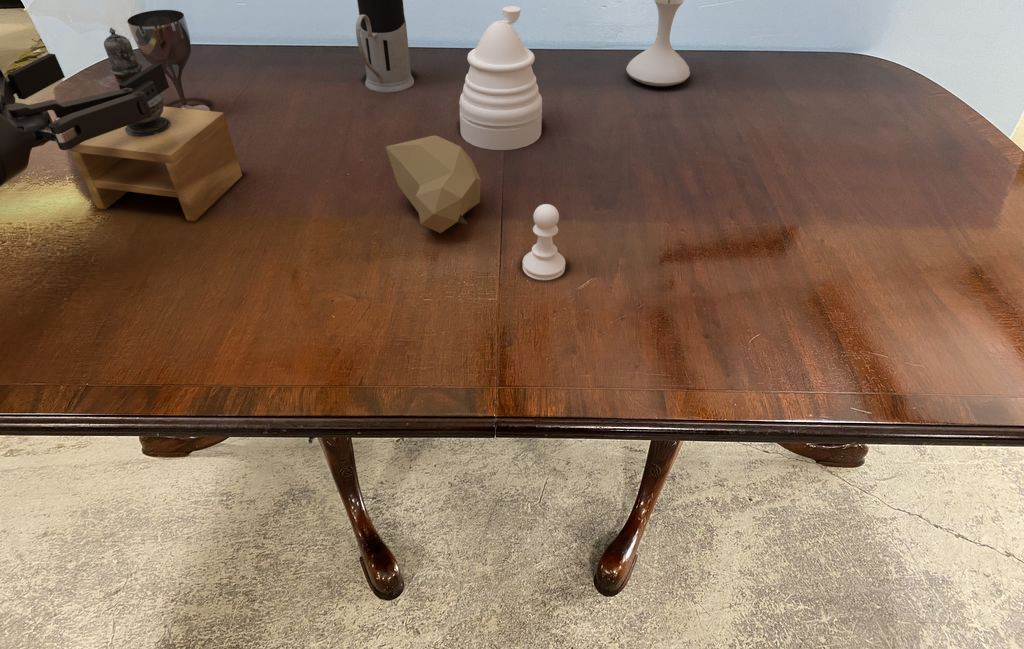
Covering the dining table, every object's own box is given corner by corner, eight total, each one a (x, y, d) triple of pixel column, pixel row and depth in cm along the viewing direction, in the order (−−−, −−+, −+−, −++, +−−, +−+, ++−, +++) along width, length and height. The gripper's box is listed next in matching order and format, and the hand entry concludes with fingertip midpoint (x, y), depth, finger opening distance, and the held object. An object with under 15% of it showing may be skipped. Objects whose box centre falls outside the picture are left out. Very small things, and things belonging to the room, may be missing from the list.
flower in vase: (636, 64, 128) (656, -87, 111) (695, 74, 124) (724, -80, 107) (613, 88, 119) (631, -72, 102) (676, 100, 115) (704, -64, 99)
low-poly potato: (418, 186, 94) (353, 179, 84) (456, 120, 89) (392, 105, 79) (480, 257, 88) (418, 258, 79) (525, 191, 83) (464, 184, 74)
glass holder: (421, 75, 123) (413, -13, 113) (392, 107, 112) (380, 13, 102) (376, 71, 124) (365, -17, 114) (344, 101, 114) (328, 8, 104)
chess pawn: (537, 254, 81) (540, 189, 75) (572, 269, 79) (578, 203, 73) (513, 275, 78) (514, 209, 72) (549, 291, 76) (553, 224, 70)
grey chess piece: (127, 141, 81) (86, 39, 73) (119, 123, 85) (78, 25, 77) (178, 130, 83) (143, 30, 75) (167, 113, 87) (133, 16, 79)
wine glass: (173, 102, 113) (141, 9, 103) (220, 103, 113) (192, 10, 103) (153, 123, 107) (117, 26, 97) (201, 124, 107) (170, 27, 97)
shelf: (99, 213, 87) (66, 142, 81) (154, 169, 96) (128, 102, 89) (196, 226, 85) (170, 154, 79) (243, 180, 94) (223, 112, 87)
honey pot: (509, 107, 113) (510, -8, 101) (557, 135, 105) (564, 14, 93) (445, 127, 107) (437, 7, 95) (491, 158, 99) (489, 32, 87)
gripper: (-128, 177, 66) (29, 92, 81) (98, 206, 62) (217, 111, 78) (-180, 104, 61) (-2, 28, 76) (62, 130, 57) (197, 45, 73)
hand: (109, 70), depth 77 cm, fingers open, 13 cm apart
